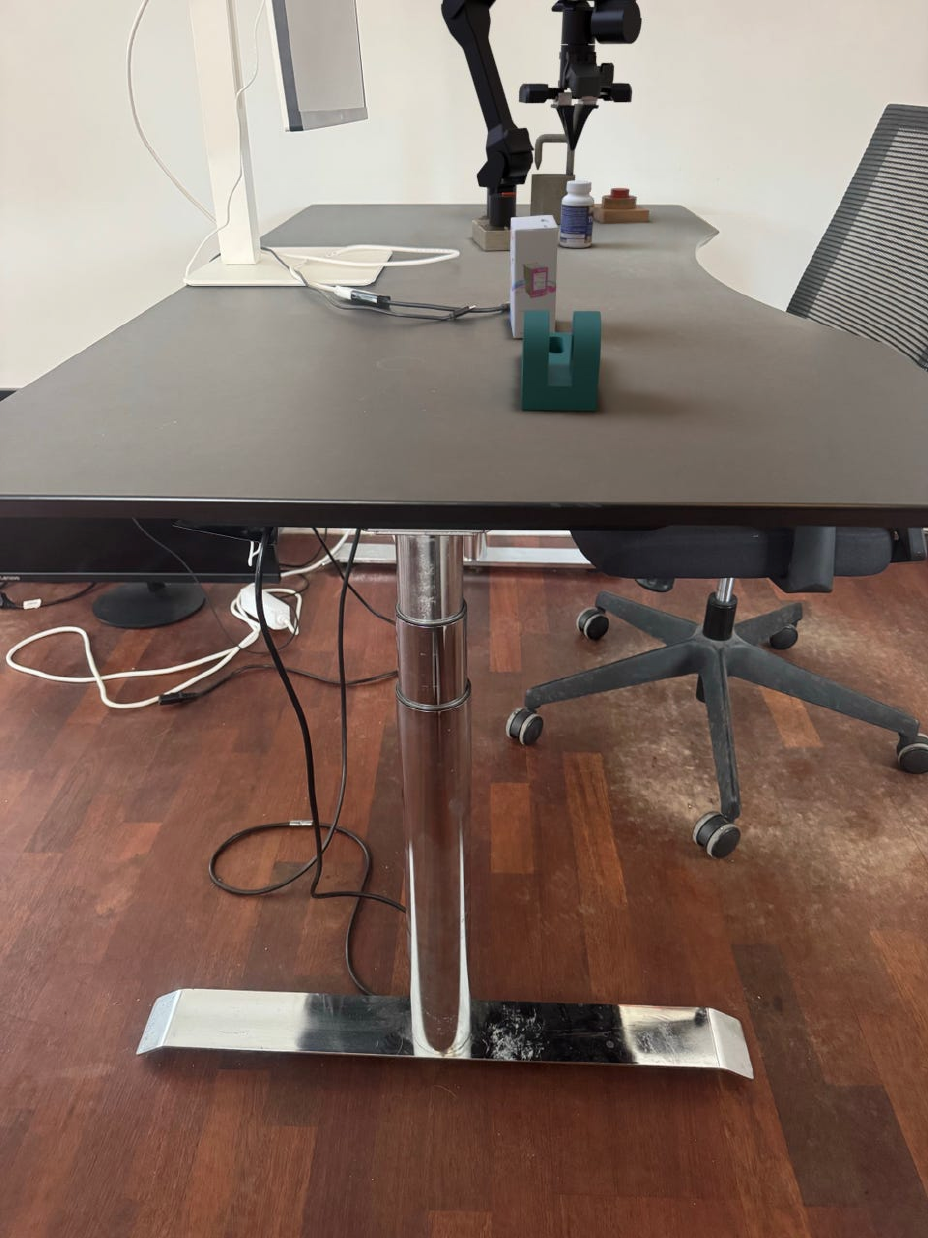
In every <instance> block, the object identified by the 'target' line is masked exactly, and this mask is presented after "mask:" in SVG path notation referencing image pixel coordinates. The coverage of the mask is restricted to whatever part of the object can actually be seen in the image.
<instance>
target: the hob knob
mask: <svg viewBox="0 0 928 1238" xmlns="http://www.w3.org/2000/svg"><path fill="white" fill-rule="evenodd" d="M513 217H515V193H501V194H491V195H489V225H491V226H500V227H504V226H511V218H513Z"/></svg>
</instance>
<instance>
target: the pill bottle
mask: <svg viewBox="0 0 928 1238" xmlns="http://www.w3.org/2000/svg"><path fill="white" fill-rule="evenodd" d="M566 189H567V191H568V195H567V196H565V197H564V198H563V199H562V210H561V224H560V228H559V229H560V231H559V245H560V246H561V247H564V248H573V249H579V248H580V249H581V248H588V247H590V246H591V245H592V240H593V228H594V218H593V215H594V204H595V199H594V197H593V196H592V195H591V194H590V193H591V192H592V181H589V180H575V181H568V182H567V188H566Z"/></svg>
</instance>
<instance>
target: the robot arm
mask: <svg viewBox="0 0 928 1238" xmlns="http://www.w3.org/2000/svg"><path fill="white" fill-rule="evenodd" d="M496 1H497V0H442V3H440V12H441V17H442V19H443V22H444V23H445V25H446V28H447V30H448V33H449V34H450V36H451V37H452V38H453V39H454V40H455V41H456V42H457V44H458V45H459V46H460V48H461V49H462V51H463V54H464V57H465V61H466V64H467V67H468V70H469V75H470V77H471V81H472V84H473V87H474V90H475V93H476V97H477V101H478V103H479V107H480V110H481V113H482V116H483V120H484V123H485V126H486V131H487V135H486V141H485V142H486V143H485V154H486V160H487V161H486V162H485V163H484V164H483V166H482V167H481V168H480V169H479V171H478V172H477V173H476V180H477V185H478V187H480V188H486V215H481V216H482V217H481V218H482V220H489V195H491V194H501V193H515V217H518V216H517V193H518V185H519V186H520V185H525V184H526V181H527V178H528V174H529V173H530V171H531V169H532V166H533V164H534V153H533V152H535V147H534V146H533V145H532V142H531V139H530V131H529V130H528V128H527V127H518V125H517V124H516V123H515V122H514V119H513V117H512V114H511V110H510V107H509V103H508V99H507V97H506V93H505V90H504V87H503V83H502V80H501V76H500V73H499V70H498V67H497V63H496V60H495V56H494V53H493V49H492V45H491V43H490V39H489V38H490V30H491V24H492V18H491V13H490V10H491V8H492V7H493V5H494V4H495V3H496ZM589 2H593V6H591V5H590V3H589ZM550 10H551V12H552V13H561V14H562V16H561V35H560V36H561V37H560V51H559V52H558V60H559V78H558V79H559V80H557V87H549V84H548V83H542V82H541V83H539V82H538V83H522V84H521V86H519V90H518V103H521V104H545V103H546V102H547V101H548V100H552V103H550V108H551V109H555V111H556V113H557V116H558V118H559V120H560V123H561V125H562V126H561V127H562V129H563V132H564V133H563V134H565V137H566V140H567V143H566V144H568V147H569V150H575V151H576V148H577V146H578V143H579V140H580V137H581V134H582V132H583V129H584V127H585V124H586V122H587V120H588V118H589V116H590V115H591V113H592V112H593V111H594V110H595V109H596V110H598V109H599V107H600V105H599V104H598V103H597V102H598V101H599V100H602V101H604V102H613V103H632V99H633V88H632V86H631V84H630V83H629V82H614V78H615V77H614V76H615V65H614V63H613V62H601V63H600V65H598V62H597V57H598V56H597V51H596V42H597V43H598V44H599V45H633V44H634V43H635V42H636V41H637V40H638V38H639V37H640V34H641V30H642V23H643V20H642V19H643V18H642V16H641V9H640V7H639V4H638V2H637V0H557V1H556V2H555V3H554V4H553V5H552V6H551V9H550ZM568 89H569V90H570V91H567V90H568ZM573 100H577V103H574V104H572V103H573V102H572V101H573Z"/></svg>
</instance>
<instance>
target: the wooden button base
mask: <svg viewBox="0 0 928 1238" xmlns="http://www.w3.org/2000/svg"><path fill="white" fill-rule="evenodd" d="M637 198H638V196H635V195H631V194H629V198H610V194H605V195H603V196H601V203H594V215H593V220H595V221H597V222H599V223H601V224H606V225H607V224H633V223H634V224H636V223H649V217H650V210H649V209H647V208H645V207H643V206H640V205H638V204H637V203H638V201H637V200H638V199H637Z"/></svg>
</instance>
